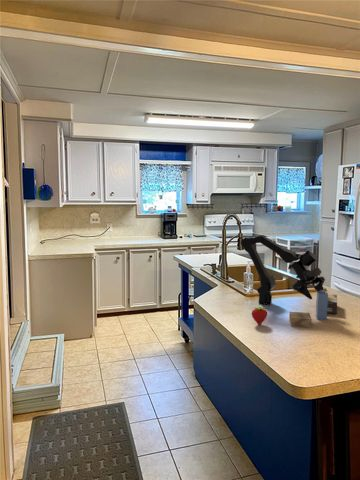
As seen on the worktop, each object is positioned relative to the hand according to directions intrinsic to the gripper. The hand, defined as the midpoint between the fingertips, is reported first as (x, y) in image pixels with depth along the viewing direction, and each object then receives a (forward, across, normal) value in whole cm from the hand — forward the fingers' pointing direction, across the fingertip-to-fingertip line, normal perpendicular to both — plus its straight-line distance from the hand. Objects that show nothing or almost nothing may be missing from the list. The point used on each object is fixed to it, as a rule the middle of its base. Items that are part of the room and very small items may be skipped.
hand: (317, 297), depth 182 cm
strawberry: (+3, -33, +11) cm, 35 cm away
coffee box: (-3, +21, +12) cm, 25 cm away
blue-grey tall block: (+9, 0, +5) cm, 10 cm away
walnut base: (+9, -15, +5) cm, 18 cm away
